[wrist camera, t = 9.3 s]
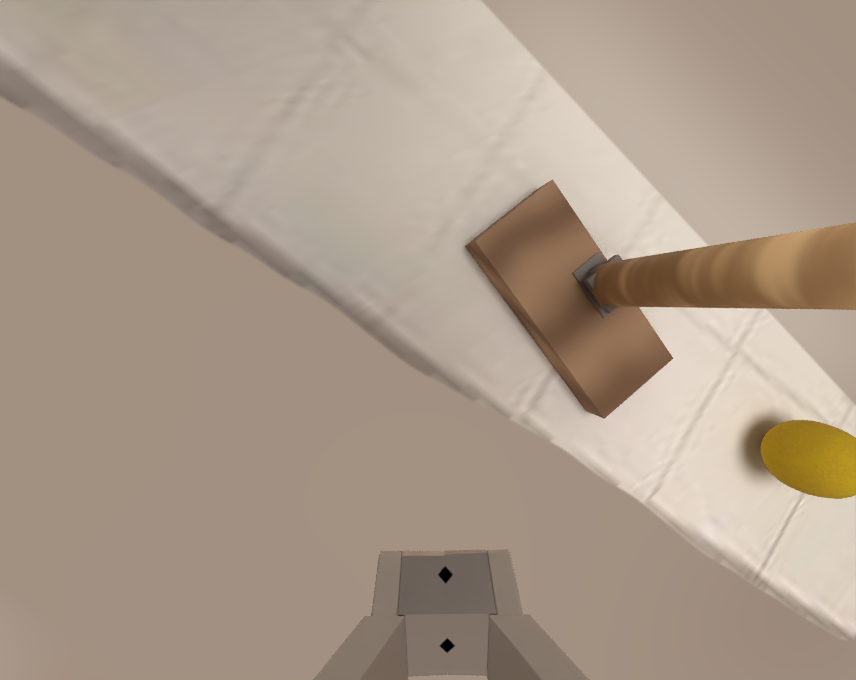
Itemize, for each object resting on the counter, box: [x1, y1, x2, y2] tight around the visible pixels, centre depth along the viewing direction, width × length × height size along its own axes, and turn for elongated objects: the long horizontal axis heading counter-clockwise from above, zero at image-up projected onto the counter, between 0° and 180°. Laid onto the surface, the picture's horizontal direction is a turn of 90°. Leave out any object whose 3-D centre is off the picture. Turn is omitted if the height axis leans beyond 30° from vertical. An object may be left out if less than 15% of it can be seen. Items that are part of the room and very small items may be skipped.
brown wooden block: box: [466, 180, 673, 418], centre depth 33 cm, size 16×7×3 cm, turn 39°
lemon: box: [760, 420, 856, 499], centre depth 34 cm, size 6×6×8 cm
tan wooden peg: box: [583, 223, 856, 313], centre depth 23 cm, size 3×3×17 cm
